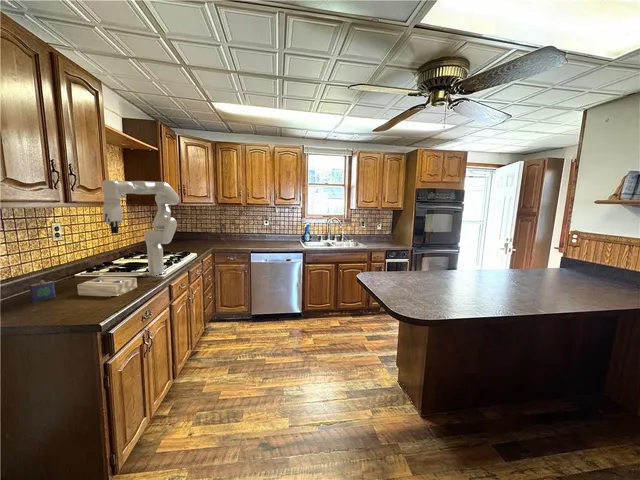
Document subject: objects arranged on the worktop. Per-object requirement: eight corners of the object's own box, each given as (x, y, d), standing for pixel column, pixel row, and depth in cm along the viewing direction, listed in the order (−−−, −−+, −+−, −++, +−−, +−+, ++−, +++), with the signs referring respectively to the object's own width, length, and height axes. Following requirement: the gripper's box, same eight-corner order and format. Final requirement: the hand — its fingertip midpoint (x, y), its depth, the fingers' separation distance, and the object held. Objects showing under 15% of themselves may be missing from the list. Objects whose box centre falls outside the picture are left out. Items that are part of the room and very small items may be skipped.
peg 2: (118, 289, 160) (117, 280, 159) (124, 289, 160) (123, 280, 159) (113, 291, 157) (112, 282, 156) (119, 291, 157) (118, 282, 156)
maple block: (102, 285, 167) (101, 276, 166) (137, 287, 166) (136, 277, 165) (78, 295, 151) (77, 284, 150) (116, 296, 151) (116, 286, 150)
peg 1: (98, 288, 161) (97, 279, 160) (104, 288, 161) (103, 279, 160) (93, 290, 157) (92, 281, 156) (99, 290, 157) (98, 281, 156)
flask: (54, 296, 148) (52, 277, 147) (56, 297, 147) (54, 278, 145) (30, 302, 140) (28, 282, 138) (33, 303, 139) (30, 283, 137)
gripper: (115, 201, 166) (118, 231, 169) (95, 202, 152) (98, 234, 154) (128, 202, 166) (130, 231, 169) (108, 202, 151) (111, 235, 154)
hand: (114, 233), depth 162 cm, fingers closed
